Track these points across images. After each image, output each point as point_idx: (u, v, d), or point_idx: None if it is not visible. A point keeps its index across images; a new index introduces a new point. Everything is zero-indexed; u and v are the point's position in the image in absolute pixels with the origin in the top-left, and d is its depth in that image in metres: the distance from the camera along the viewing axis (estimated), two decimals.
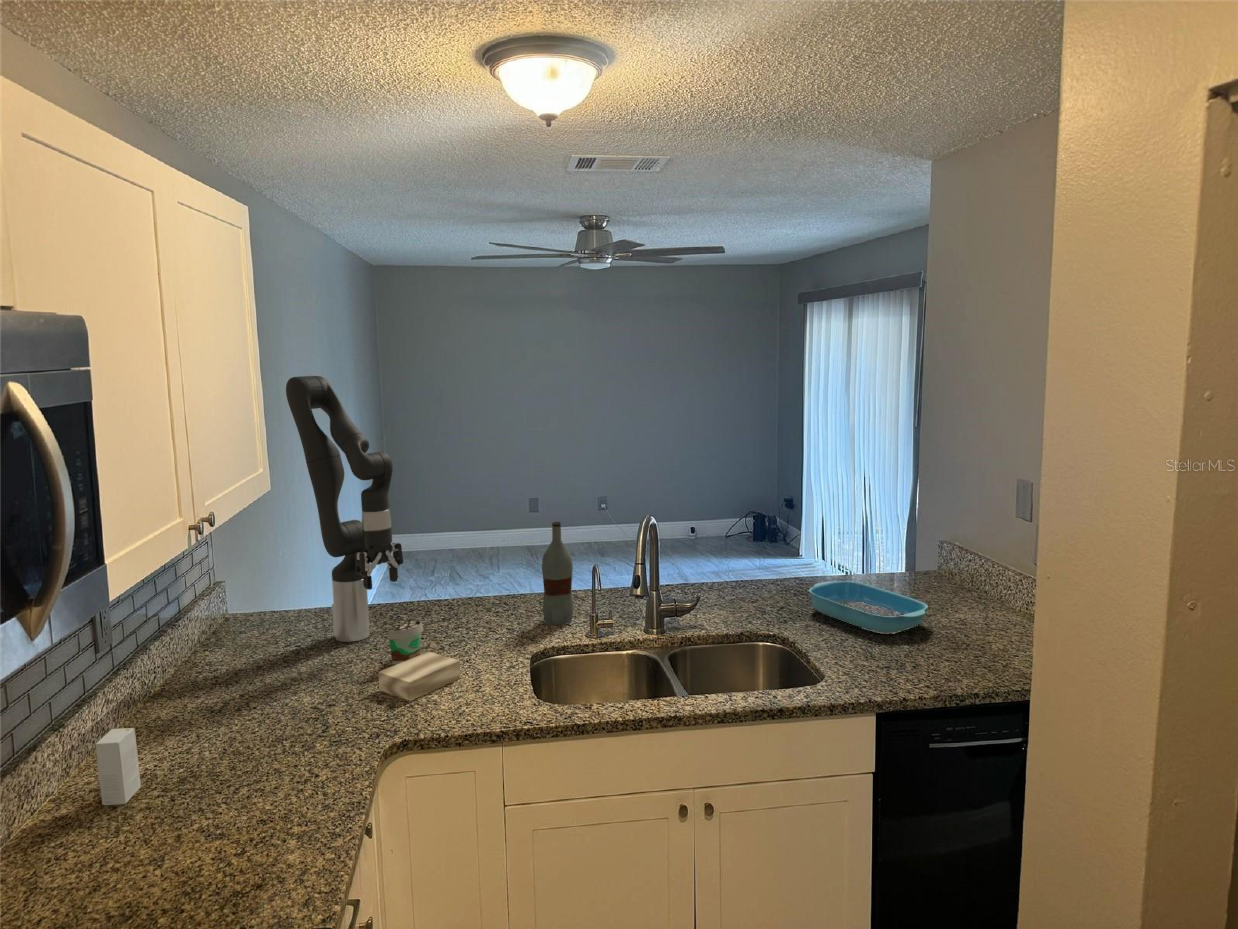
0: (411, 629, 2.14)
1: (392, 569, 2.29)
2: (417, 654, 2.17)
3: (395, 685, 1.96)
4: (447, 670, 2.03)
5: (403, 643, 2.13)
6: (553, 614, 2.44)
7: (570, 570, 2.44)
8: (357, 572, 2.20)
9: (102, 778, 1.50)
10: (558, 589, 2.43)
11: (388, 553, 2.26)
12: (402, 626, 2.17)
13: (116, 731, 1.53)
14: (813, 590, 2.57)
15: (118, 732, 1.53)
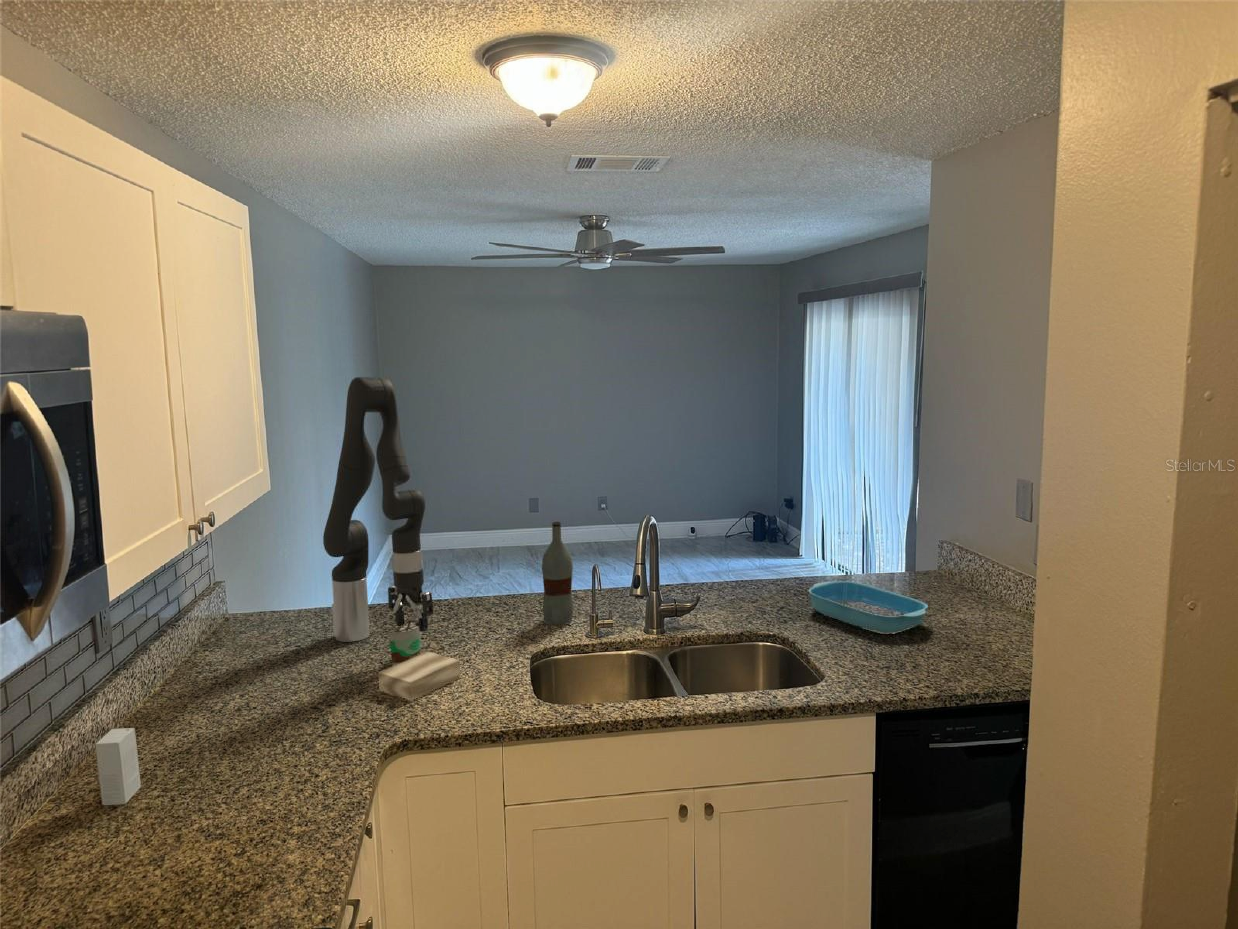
0: (411, 631, 2.14)
1: (401, 612, 2.19)
2: None
3: (396, 685, 1.96)
4: (448, 670, 2.03)
5: (403, 645, 2.13)
6: (553, 614, 2.44)
7: (570, 570, 2.44)
8: (428, 613, 2.12)
9: (102, 778, 1.50)
10: (558, 589, 2.43)
11: None
12: (402, 628, 2.17)
13: (116, 731, 1.53)
14: (812, 590, 2.57)
15: (118, 732, 1.53)
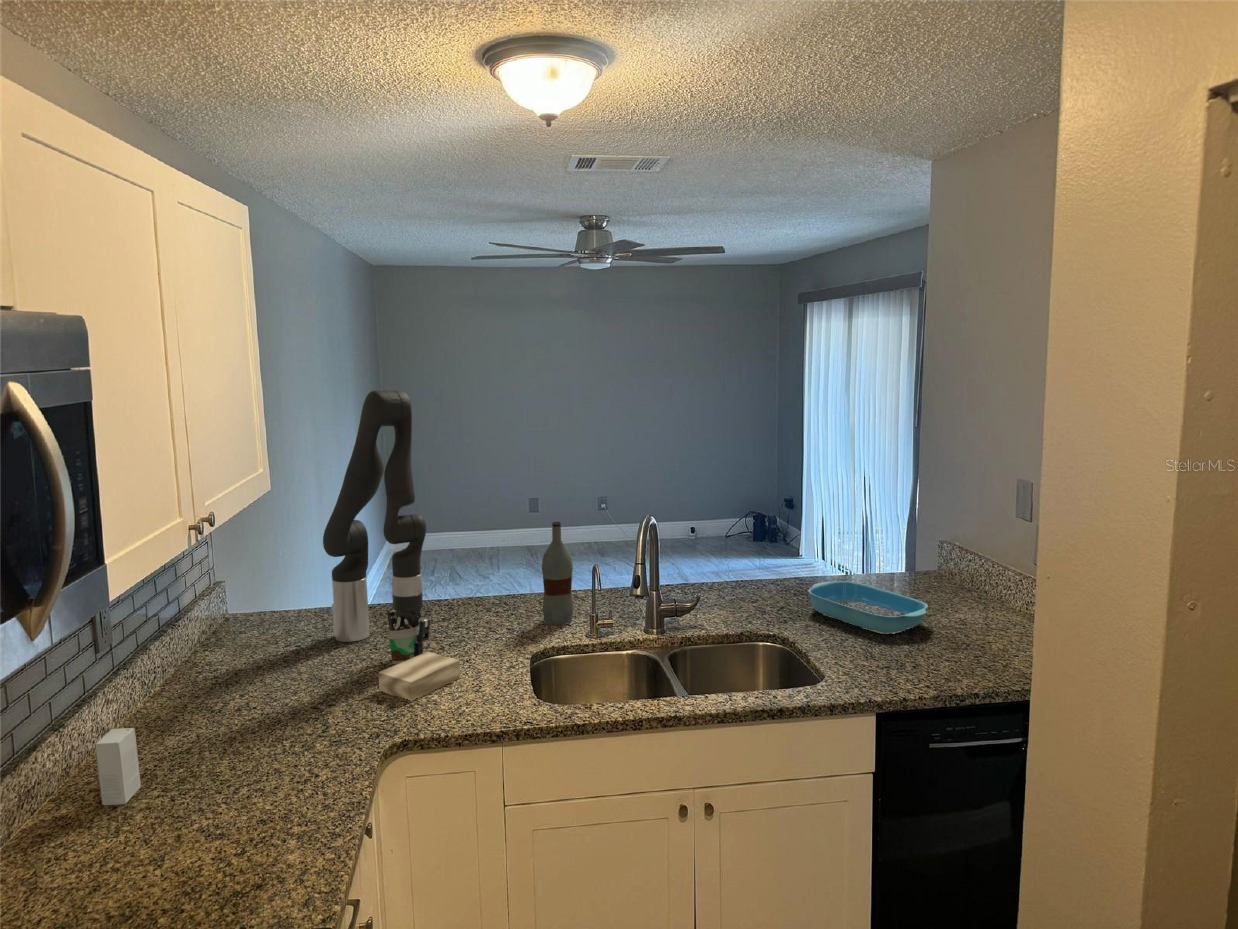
0: (411, 629, 2.14)
1: None
2: None
3: (396, 685, 1.96)
4: (448, 670, 2.03)
5: (403, 643, 2.13)
6: (553, 614, 2.44)
7: (570, 570, 2.44)
8: (423, 639, 2.14)
9: (102, 778, 1.50)
10: (558, 589, 2.43)
11: None
12: (402, 626, 2.17)
13: (116, 731, 1.53)
14: (812, 591, 2.56)
15: (118, 732, 1.53)
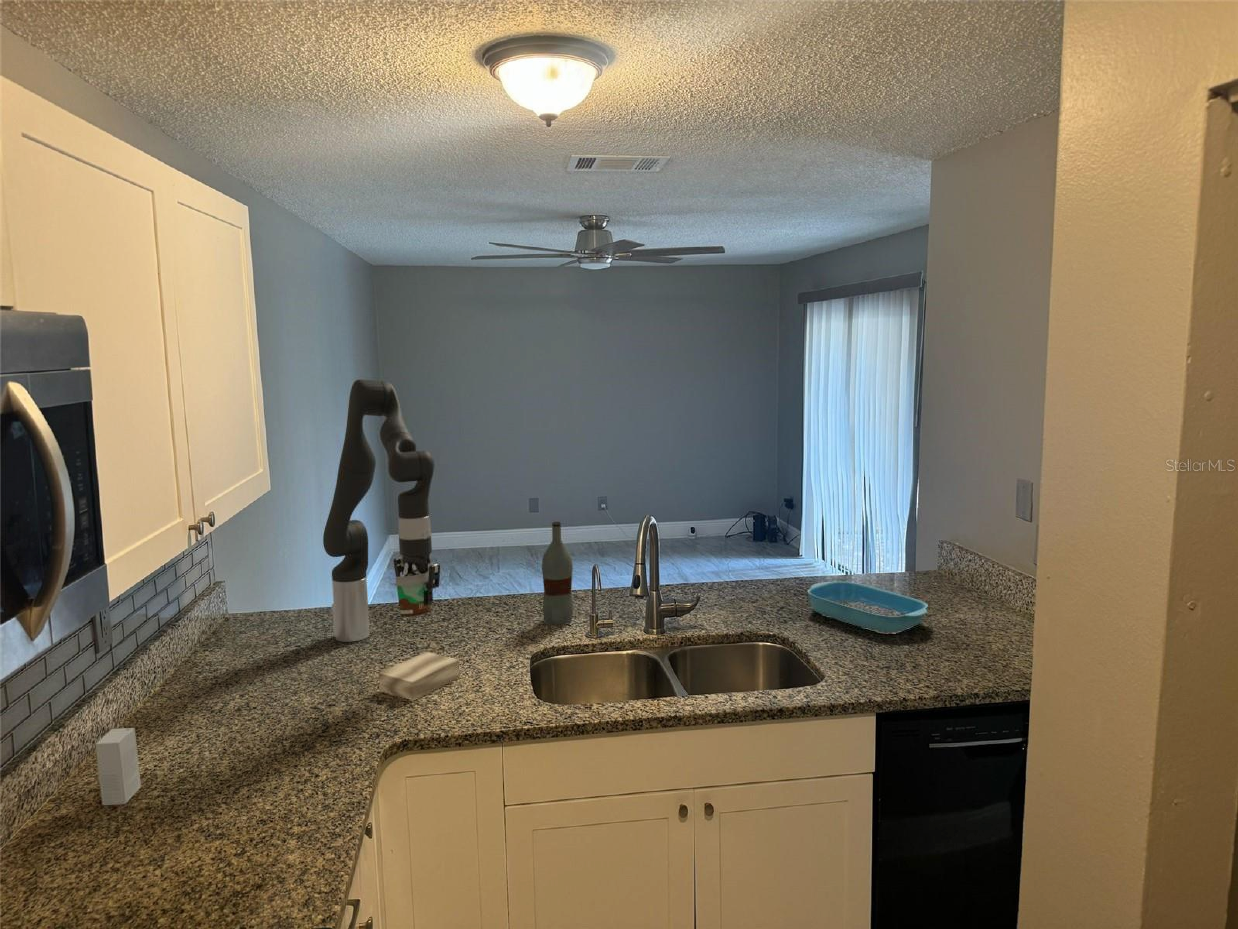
0: (420, 575, 1.97)
1: None
2: None
3: (397, 685, 1.96)
4: (448, 670, 2.03)
5: (412, 590, 1.96)
6: (553, 614, 2.44)
7: (570, 570, 2.44)
8: (433, 586, 1.97)
9: (102, 778, 1.50)
10: (558, 589, 2.43)
11: None
12: None
13: (116, 731, 1.53)
14: (811, 591, 2.56)
15: (118, 732, 1.53)
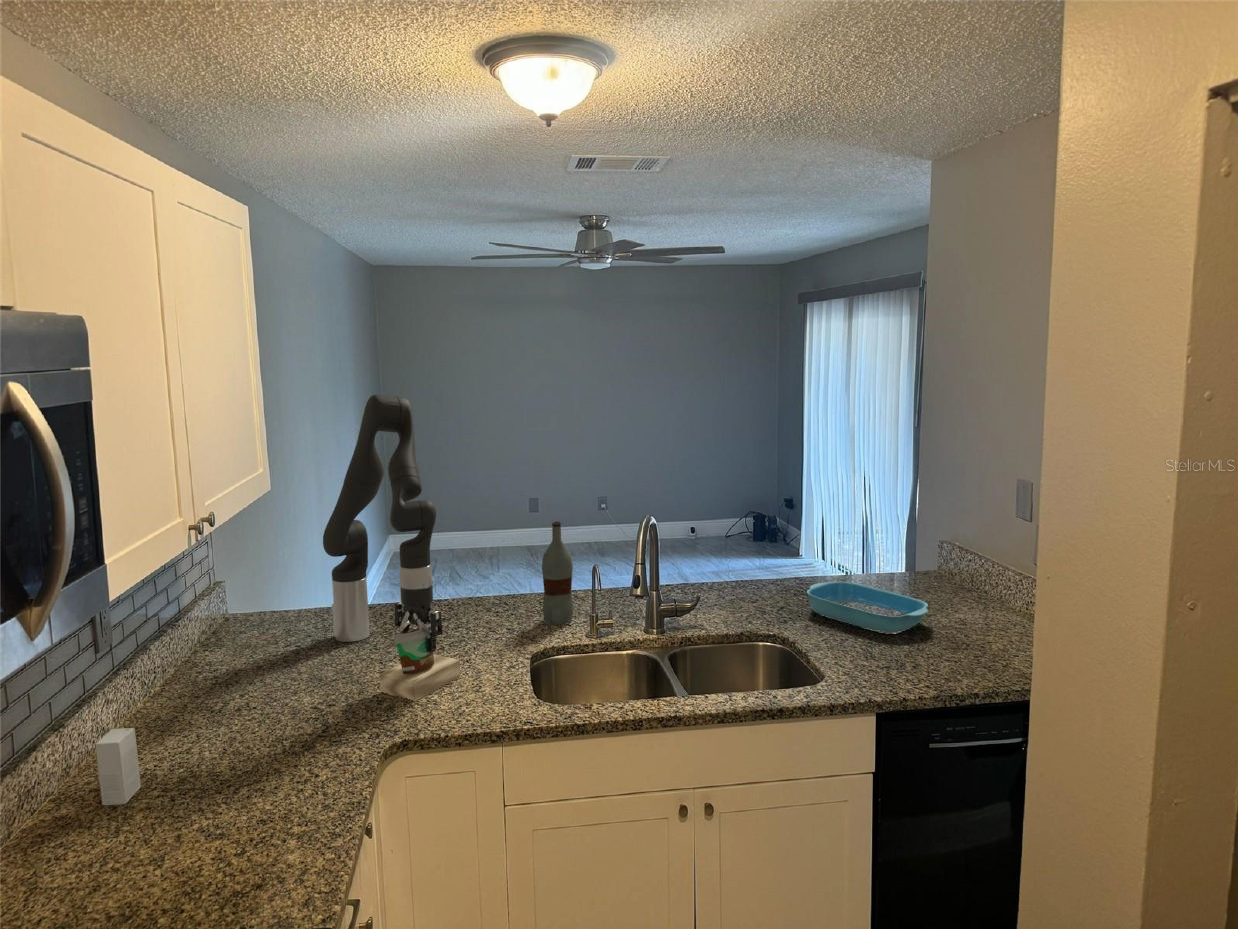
0: (418, 631, 1.97)
1: None
2: (429, 658, 2.00)
3: (399, 686, 1.96)
4: (449, 670, 2.04)
5: (411, 647, 1.97)
6: (553, 614, 2.44)
7: (570, 570, 2.44)
8: (437, 634, 1.97)
9: (102, 778, 1.50)
10: (558, 589, 2.43)
11: None
12: (411, 630, 2.01)
13: (116, 731, 1.53)
14: (810, 592, 2.55)
15: (118, 732, 1.53)
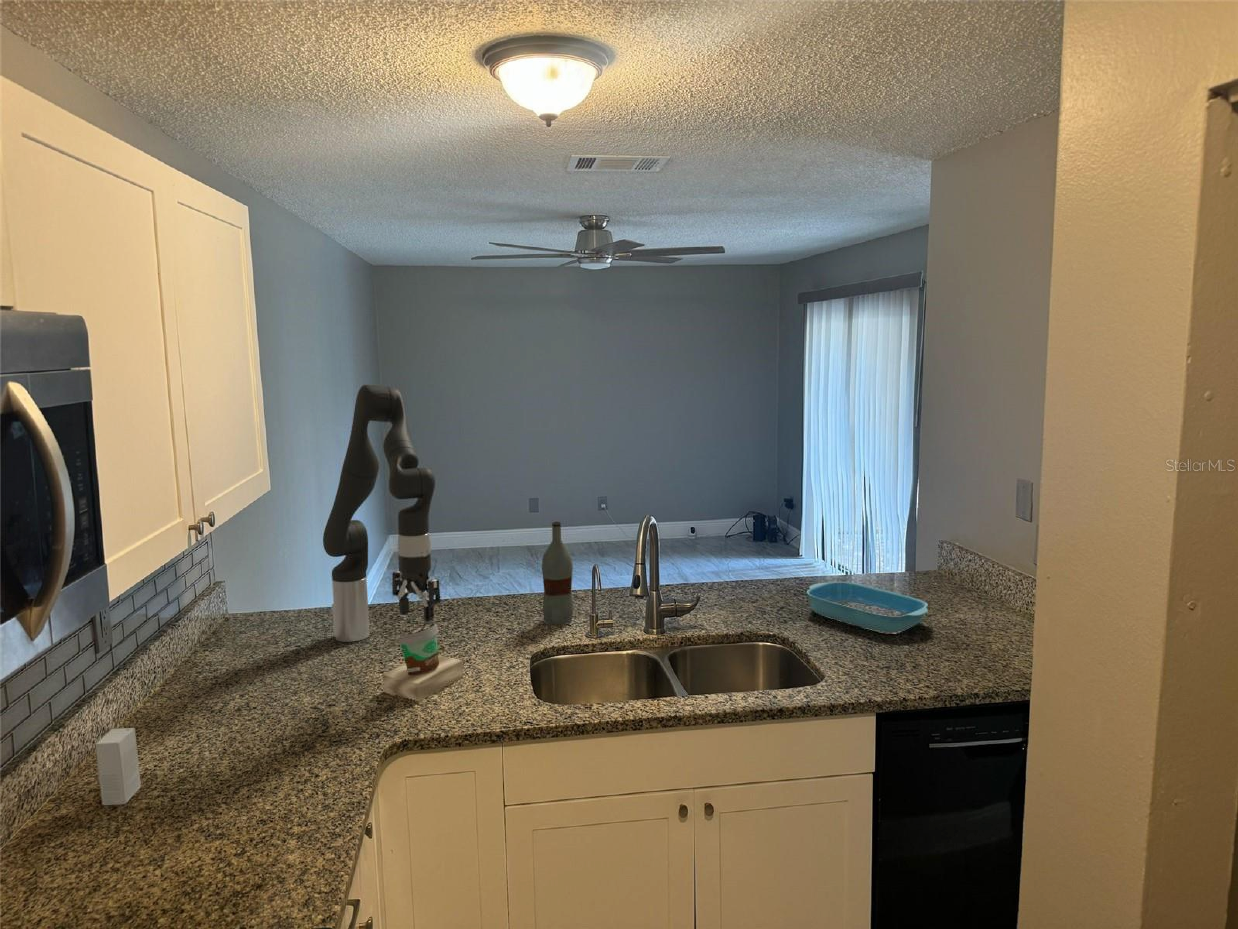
0: (423, 632, 1.97)
1: (405, 600, 2.03)
2: (434, 659, 2.00)
3: (402, 687, 1.95)
4: (452, 671, 2.03)
5: (416, 648, 1.96)
6: (553, 614, 2.44)
7: (570, 570, 2.44)
8: (434, 602, 1.96)
9: (102, 778, 1.50)
10: (558, 589, 2.43)
11: None
12: (415, 630, 2.00)
13: (116, 731, 1.53)
14: (810, 592, 2.55)
15: (118, 732, 1.53)
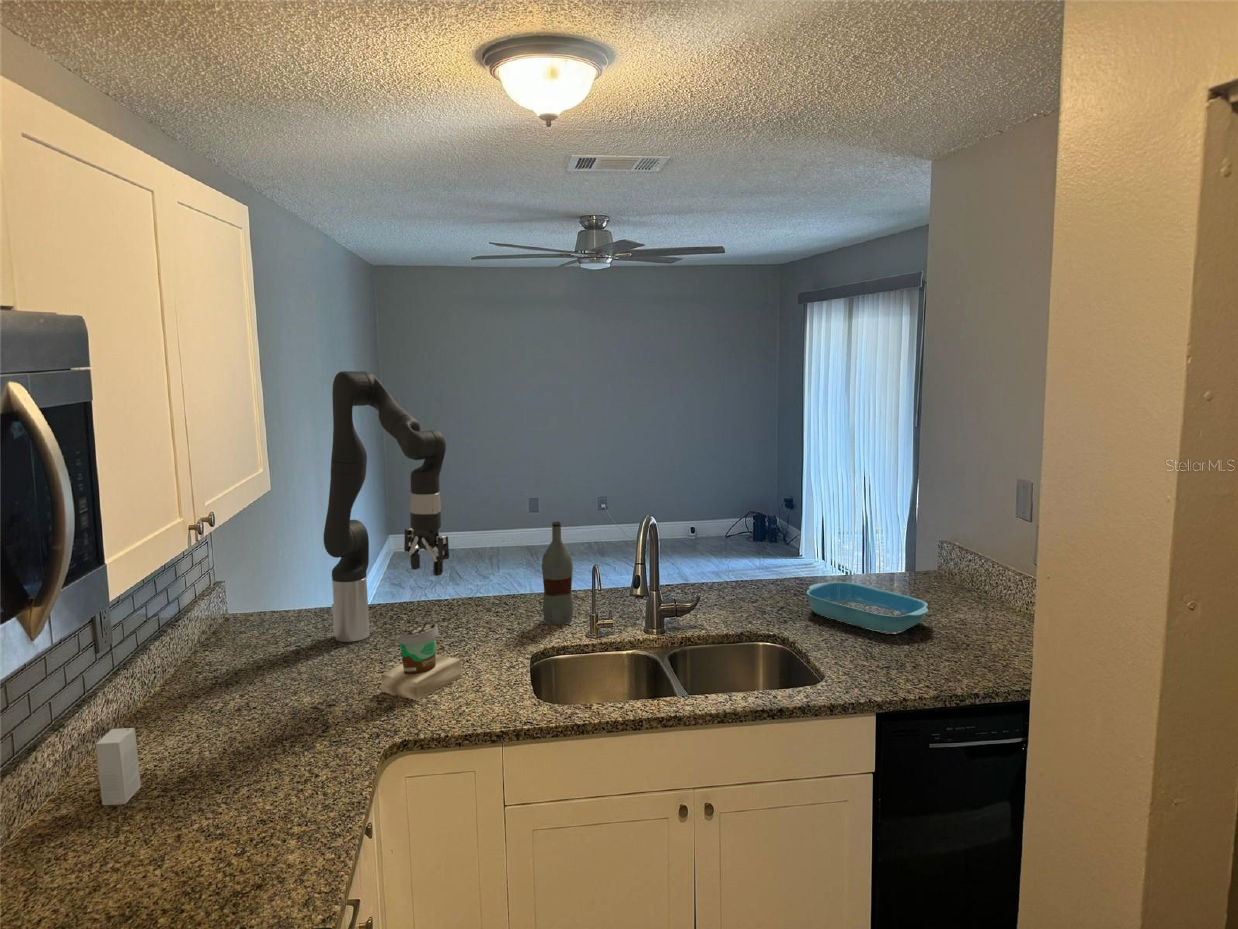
0: (423, 633, 1.97)
1: (416, 555, 2.14)
2: (431, 660, 2.00)
3: (401, 686, 1.96)
4: (450, 670, 2.04)
5: (415, 648, 1.97)
6: (553, 614, 2.44)
7: (570, 570, 2.44)
8: (443, 557, 2.07)
9: (102, 778, 1.50)
10: (558, 589, 2.43)
11: None
12: (415, 630, 2.01)
13: (116, 731, 1.53)
14: (810, 592, 2.55)
15: (118, 732, 1.53)
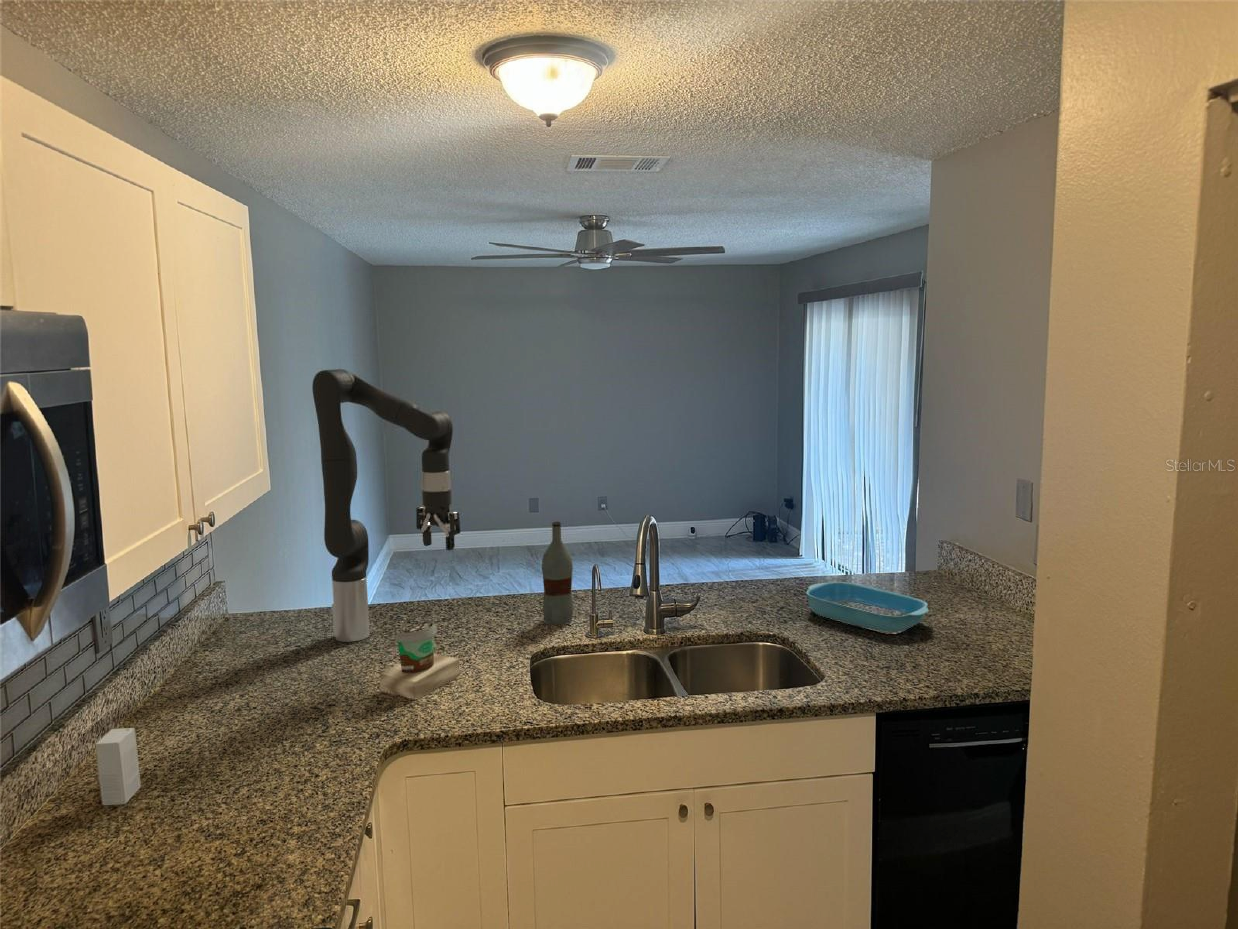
0: (420, 632, 1.98)
1: (428, 532, 2.25)
2: (429, 659, 2.01)
3: (399, 685, 1.96)
4: (448, 669, 2.04)
5: (412, 647, 1.98)
6: (553, 614, 2.44)
7: (570, 570, 2.44)
8: (455, 532, 2.18)
9: (102, 778, 1.50)
10: (558, 589, 2.43)
11: None
12: (413, 629, 2.01)
13: (116, 731, 1.53)
14: (809, 593, 2.54)
15: (118, 732, 1.53)
